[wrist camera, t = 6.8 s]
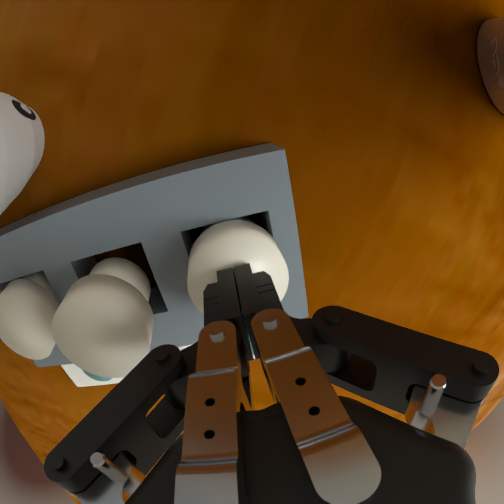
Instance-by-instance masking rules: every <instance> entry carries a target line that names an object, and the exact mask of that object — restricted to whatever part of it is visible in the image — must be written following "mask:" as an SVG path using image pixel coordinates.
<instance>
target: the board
mask: <svg viewBox="0 0 504 504" xmlns="http://www.w3.org/2000/svg"><path fill="white" fill-rule="evenodd" d="M259 212H262V215H263V220H264V225H265V230H266V231H267V232H268V233H269V234H270V235H271V236H272V237H273V239H274V241H275V242H276V244H277V246H278V248H279V250H280V252H281V254H282V256H283V258H284V260H285V262H286V265H287V268H288V272H289V283H288V288H287V291H286V293H285V295H284V297H283V299H282V300H281V304H282V307H283V309H284V311H285V312H286V313H287V314H288V315H289V316H291V317H294V318H299V319H302V318H305V317H308V308H307V299H306V290H305V282H304V274H303V266H302V258H301V251H300V243H299V236H298V229H297V222H296V215H295V209H294V202H293V196H292V189H291V183H290V177H289V171H288V165H287V159H286V153H285V149H283V148H281V147H280V146H278V145H276V144H274V143H266V144H261V145H256V146H252V147H247V148H242V149H238V150H233V151H229V152H224V153H220V154H216V155H212V156H207V157H203V158H199V159H196V160H192V161H188V162H184V163H180V164H177V165H173V166H169V167H166V168H162V169H159V170H155V171H152V172H149V173H145V174H142V175H139V176H135V177H132V178H129V179H126V180H123V181H120V182H117V183H114V184H111V185H108V186H105V187H102V188H99V189H96V190H93V191H90V192H87V193H85V194H82V195H79V196H76V197H74V198H71V199H68V200H66V201H63V202H61V203H58V204H56V205H53V206H51V207H48V208H46V209H43V210H41V211H38V212H36V213H33V214H31V215H29V216H26V217H24V218H22V219H20V220H17V221H15V222H13V223H11V224H8V225H6V226H4V227H2V228H0V294H1V292H2V291H3V290H4V289H5V287H6V286H7V285H8V284H9V283H10V282H11V281H13V280H15V279H23V277H24V276H26V275H29V274H33V273H36V272H39V271H42V270H43V271H44V274H45V276H46V278H47V280H48V281H49V283H50V285H51V287H52V289H53V291H54V293H55V295H56V297H57V299H58V300H59V302H60V304H61V302H62V300H63V299H64V297H65V295H66V294H67V292H68V290H69V289H70V287H71V286H72V285H73V284H74V282H76V281H77V280H78V279H80V278H82V277H84V276H87V275H89V274H90V272H91V270H92V269H93V267H94V266H95V265H96V264H97V262H96V259H95V257H94V255H96V254H100V253H103V252H107V251H111V250H114V249H118V248H121V247H125V246H129V245H132V244H136V243H140V242H141V244H142V246H143V249H144V252H145V254H146V257H147V260H148V262H149V265H150V267H151V270H152V273H153V275H154V278H155V280H156V283H157V285H158V287H154V288H150V289H151V291H150V297H149V301H148V303H149V304H150V306H151V309H152V312H153V316H154V326H153V332H152V338H151V344H150V350H149V352H150V351H151V350H153V349H154V348H156V347H158V346H160V345H164V344H172V345H175V346H177V347H182V346H187V345H192V344H194V343H196V342H197V341H198V337H199V333H200V331H201V330H202V329H203V327H204V314H203V313H202V312H200V311H199V310H198V309H197V307H196V306H195V305H194V304H193V302H192V300H191V298H190V296H189V292H188V287H187V277H188V264H189V255H190V251H191V248H192V246H193V241H192V237H191V234H190V231H189V229H193V228H197V227H201V226H205V225H209V224H213V223H217V222H222V221H226V220H230V219H234V218H238V217H242V216H247V215H251V214H255V213H259ZM32 360H33V359H32ZM33 362H34V363H35V364H36V366H37V367H47V366H57V365H66V364H73V363H72V362H71V361H70V360H69V359H67V358H66V356H65V355H64V354H63V353H62V352H61V351H60V349H59V348H58V346H57V344H55V346H54V348H53V350H52V352H51V354H50V355H49V356H48V357H47V358H44V359H41V360H33Z"/></svg>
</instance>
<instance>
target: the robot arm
mask: <svg viewBox="0 0 504 504" xmlns="http://www.w3.org/2000/svg"><path fill="white" fill-rule="evenodd" d="M477 54H478V62H479V67H480V72H481V75H482V79H483V82H484V85H485V87H486V90H487V92H488V94H489V96H490V98H491V100H492V102H493V103H494V105H495V106H496V107H497V109H498V110H499V111H500V112H501V113H502V114H503V115H504V17H503V18H491V19H488V20H485V21H484V23H483V24H482V25H481V27H480V29H479V32H478V38H477ZM234 271H235V275H234ZM234 271H233V268H232V267H231V268H227V269H222V270H218V271H217V282H215V283H211V284H207V286H206V288H205V290H204V291H203V300H204V301H203V306H204V327H203V329H202V330H201V331H200V333H199V337H198V341H197V342H196V343H194V344H193V345H191V346H189V347H187V348H184V349H182V350H180V349H179V348H178V347H177V346H175V345H172V344H164V345H160V346H158V347H156V348H154V349H153V350H151V351H150V352H149V353H148V354H147V355H146V356H145V357H144V358H143V359H142V360H141V361H140V362H139V363H138V364H137V365H136V366H135V367H134V368H133V369H132V370H131V371H130V372H129V373H128V374H127V375H126V376H125V377H124V378H123V379H122V380H121V381H120V382H119V383H118V384H117V385H116V386H115V387H114V388H113V389H112V390H111V391H110V392H109V393H108V394H107V395H106V396H105V397H104V398H103V399H102V400H101V401H100V402H99V403H98V404H97V405H96V406H95V408H94V409H93V410H92V411H91V412H90V413H89V414H88V415H87V416H86V417H85V418H84V419H83V420H82V421H81V422H80V423H79V424H78V425H77V426H76V427H75V428H74V429H73V430H72V431H71V432H70V433H69V434H68V435H67V436H66V437H65V438H64V439H63V440H62V441H61V442H60V443H59V444H58V445H57V446H56V447H55V448H54V449H53V450H52V451H51V452H50V453H49V454H48V456H47V457H46V459H45V463H44V469H45V473H46V475H47V477H48V478H49V479H50V480H52V481H53V482H55V483H56V484H58V485H59V486H61V487H62V488H63V489H64V490H66V491H67V492H68V493H70V494H72V495H73V496H75V497H77V498H78V499H79V500H80V501H81V503H82V504H476V503H475V483H476V472H475V467H474V464H473V461H472V459H471V457H470V456H469V454H468V453H467V452H466V451H465V450H464V448H465V445H466V443H467V440H468V438H469V435H470V433H471V430H472V427H473V425H474V422H475V419H476V416H477V413H478V410H479V408H480V406H481V404H482V403H483V401H484V400H485V398H486V396H487V395H488V393H489V391H490V389H491V388H492V386H493V384H494V382H495V381H496V379H497V377H498V374H499V366H498V363H497V361H496V360H495V359H494V358H493V357H492V356H491V355H490V354H488V353H485V352H482V351H479V350H476V349H472V348H469V347H466V346H462V345H459V344H456V343H453V342H449V341H446V340H443V339H440V338H436V337H433V336H430V335H427V334H424V333H420V332H417V331H414V330H411V329H408V328H405V327H402V326H398V325H395V324H392V323H389V322H386V321H383V320H380V319H377V318H374V317H371V316H368V315H365V314H362V313H359V312H355V311H352V310H349V309H346V308H343V307H340V306H326V307H323V308H321V309H319V310H317V311H316V312H315V313H314V315H313V317H312V318H311V319H299V318H294V317H291V316H289V315H288V314H287V313H286V312H285V311H284V309H283V307H282V304H281V302H280V299H279V296H278V294H277V291H276V289H275V286H274V284H273V281H272V278H271V276H270V275H269V274H267V273H266V272H265V271H261V272H257V273H252V270H251V267H250V263H247V264H243V265H239V266H235V267H234ZM235 277H236V279H235ZM236 282H237V283H236ZM249 338H250V339H249ZM250 342H251V344H250ZM251 345H252V349H253V352H254V356H255V359H258V358H260V361H261V365H262V368H263V372H264V375H265V378H266V381H267V384H268V387H269V389H270V392H271V395H272V398H273V401H274V403H275V404H273V405H271V406H269V407H267V408H265V409H263V410H255V411H254V405H253V394H252V384H251V375H250V366H249V361H250V360H254V358H253V353H252V349H251ZM331 383H332V384H334V385H336V386H338V387H341V388H343V389H345V390H347V391H350V392H352V393H354V394H356V395H359V396H361V397H363V398H366V399H368V400H370V401H373V402H375V403H377V404H380V405H382V406H385V407H387V408H389V409H392V410H394V411H397V412H399V413H402V414H405V418H406V421H407V423H408V424H407V423H405V422H402V421H400V420H398V419H396V418H393V417H391V416H389V415H387V414H385V413H382V412H380V411H378V410H376V409H374V408H372V407H369V406H367V405H365V404H363V403H361V402H359V401H357V400H354V399H351V398H348V397H343V396H337V394H336V392H335V390H334V388H333V386H332V385H331ZM163 394H164V395H165V397H164V398H163V399H162V400H161V401H160V402H159V403H158V404H157V406H156V407H155V408H154V409H153V410H152V411H151V412H150V413H149V415H148V416H147V417H146V414H147V412H148V411H149V409H150V408H151V407H152V406H153V405H154V404H155V403H156V402H157V401H158V399H159V398H160V397H161V396H162V395H163ZM182 431H183V434H182V435H180V433H181V432H182ZM179 435H180V436H179ZM178 436H179V437H178ZM177 437H178V438H177ZM176 438H177V439H176ZM171 444H172V445H171ZM168 448H169V449H168ZM167 449H168V450H167ZM166 450H167V451H166ZM164 453H165V454H164ZM163 454H164V455H163ZM162 455H163V456H162ZM161 456H162V458H161ZM160 458H161V459H160ZM159 459H160V460H159ZM158 460H159V461H158ZM157 461H158V463H157V464H156V465H155V463H156V462H157ZM154 465H155V466H154ZM153 466H154V468H153V469H152V470H151V472H150V473H149V474H148V475H147V477H146V478H145V475H146V474H147V473H148V472H149V470H150V469H151V468H152V467H153Z"/></svg>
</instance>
